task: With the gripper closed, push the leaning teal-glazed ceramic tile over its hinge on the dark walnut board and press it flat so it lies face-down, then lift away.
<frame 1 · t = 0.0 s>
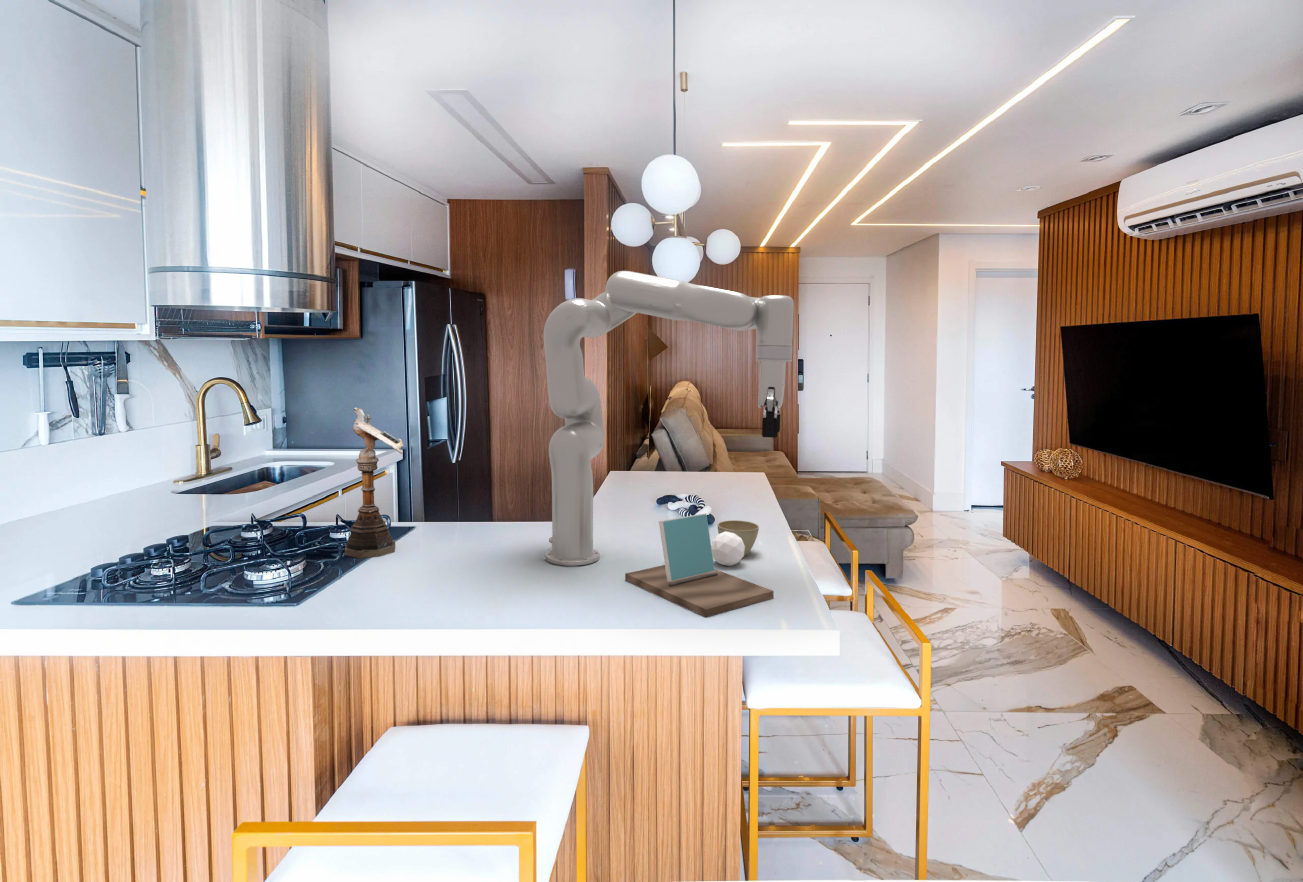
hand: (771, 434, 156), 31 cm above the countertop, tool pointing down, fingers open, 9 cm apart
board: (696, 588, 150), on the countertop
tile: (687, 546, 151), point 8 cm above the countertop, hinge at 75.0°
ball: (727, 565, 167), on the countertop
tan round bowl: (737, 554, 176), on the countertop
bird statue: (381, 549, 176), on the countertop
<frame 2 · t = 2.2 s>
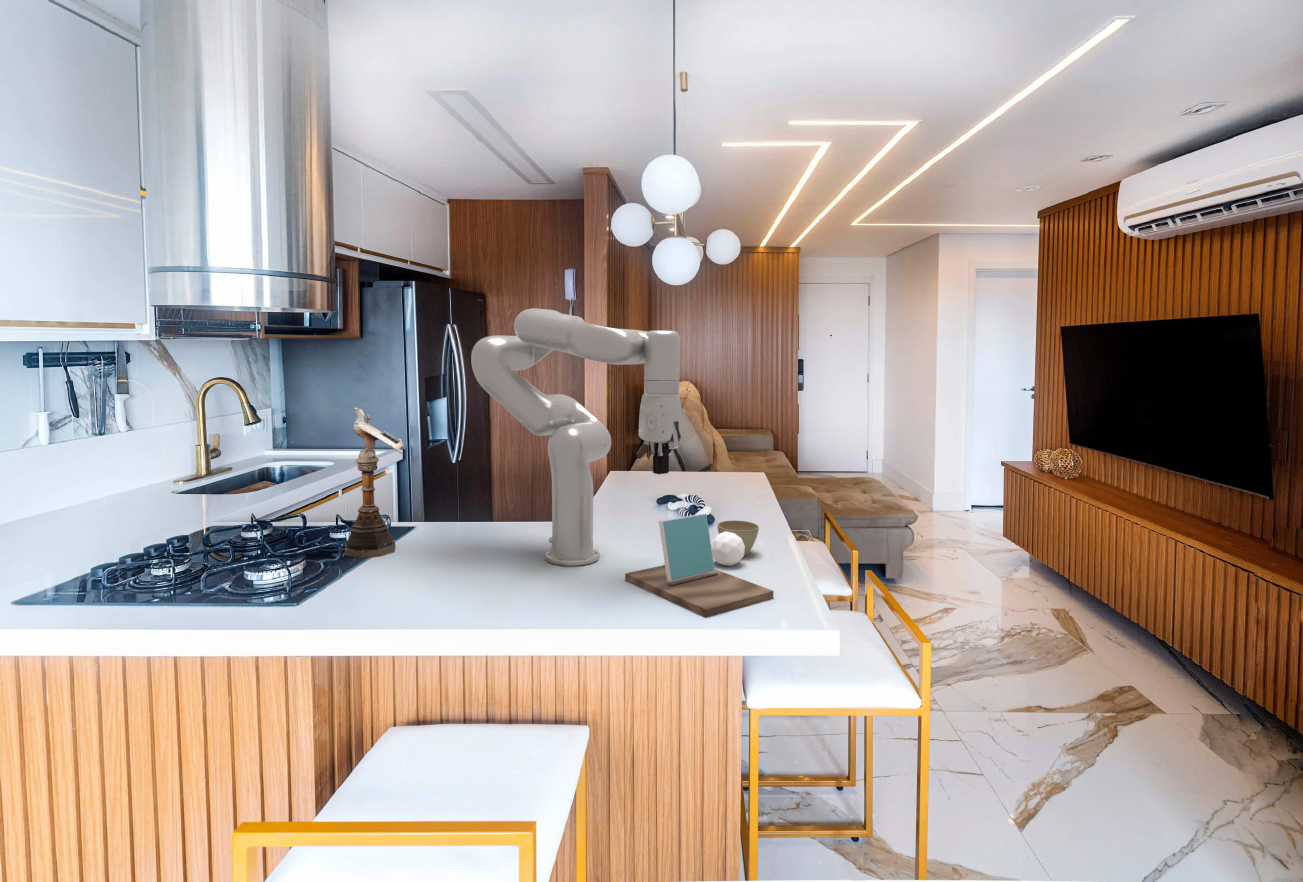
hand: (660, 473, 157), 22 cm above the countertop, tool pointing down, fingers closed
nothing on the countertop moved.
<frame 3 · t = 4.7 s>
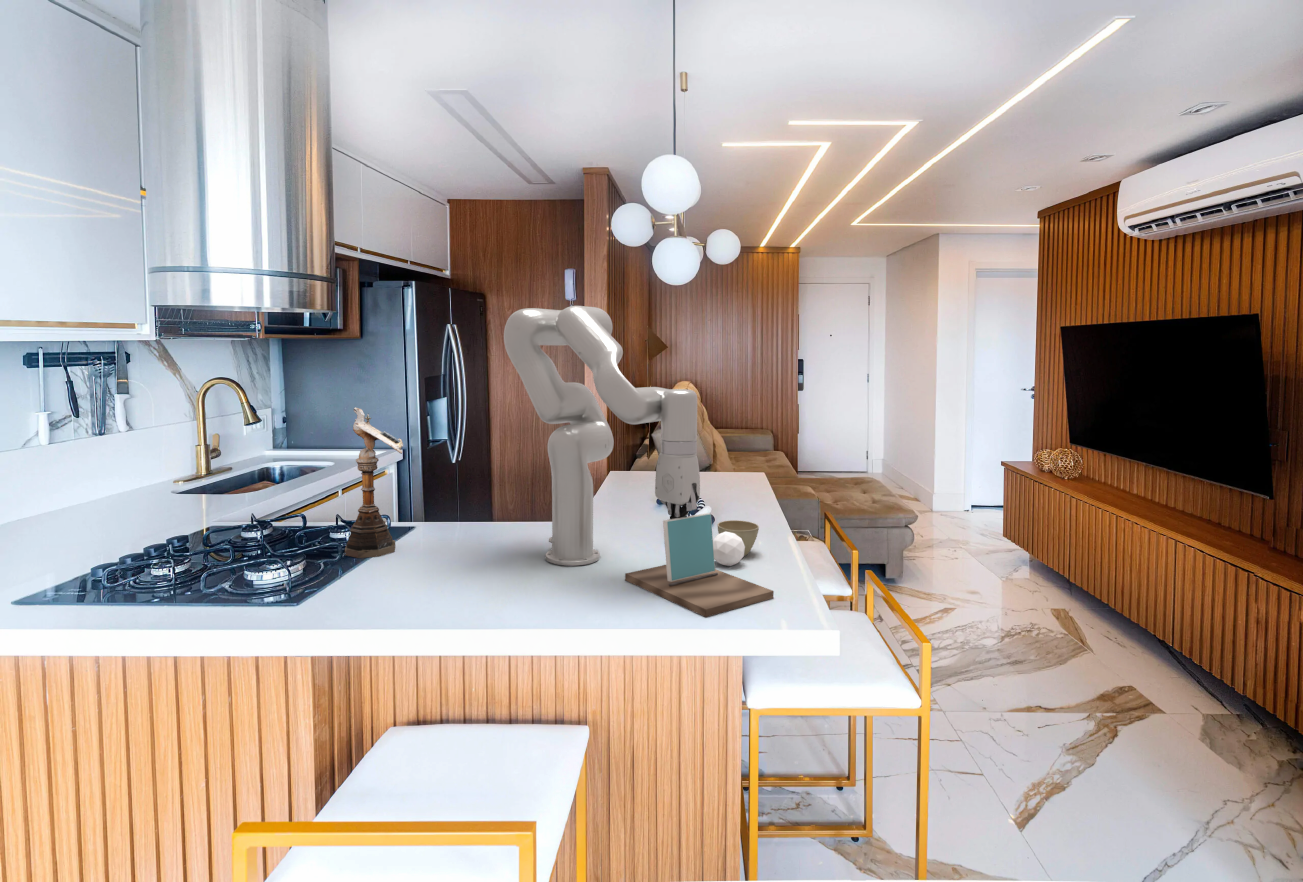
hand: (677, 533, 154), 10 cm above the countertop, tool pointing down, fingers closed
tile: (689, 546, 151), point 8 cm above the countertop, hinge at 81.5°, touching gripper
everything else where it was.
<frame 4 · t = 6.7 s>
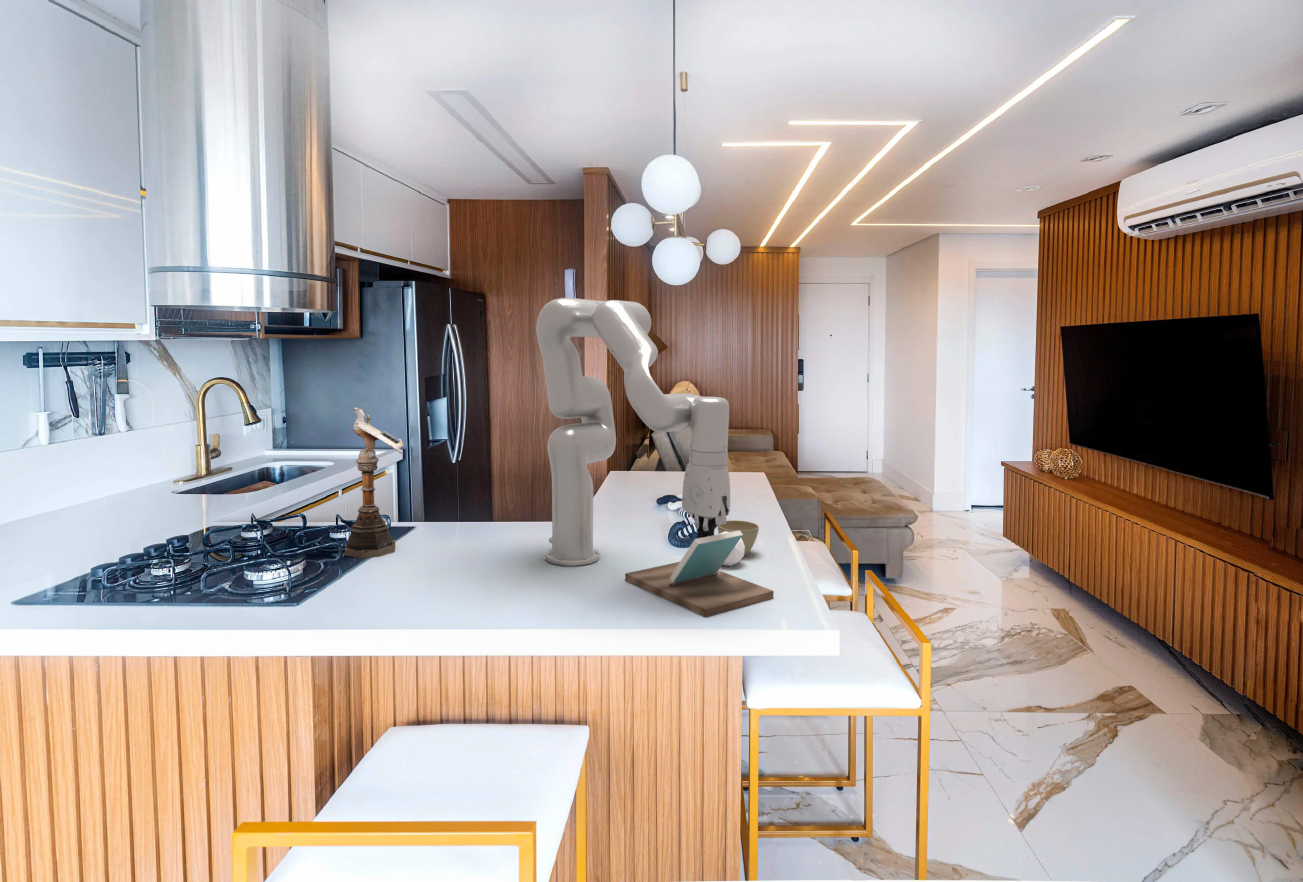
hand: (705, 547, 147), 9 cm above the countertop, tool pointing down, fingers closed
tile: (706, 556, 147), point 8 cm above the countertop, hinge at 127.4°, touching gripper
everything else where it was.
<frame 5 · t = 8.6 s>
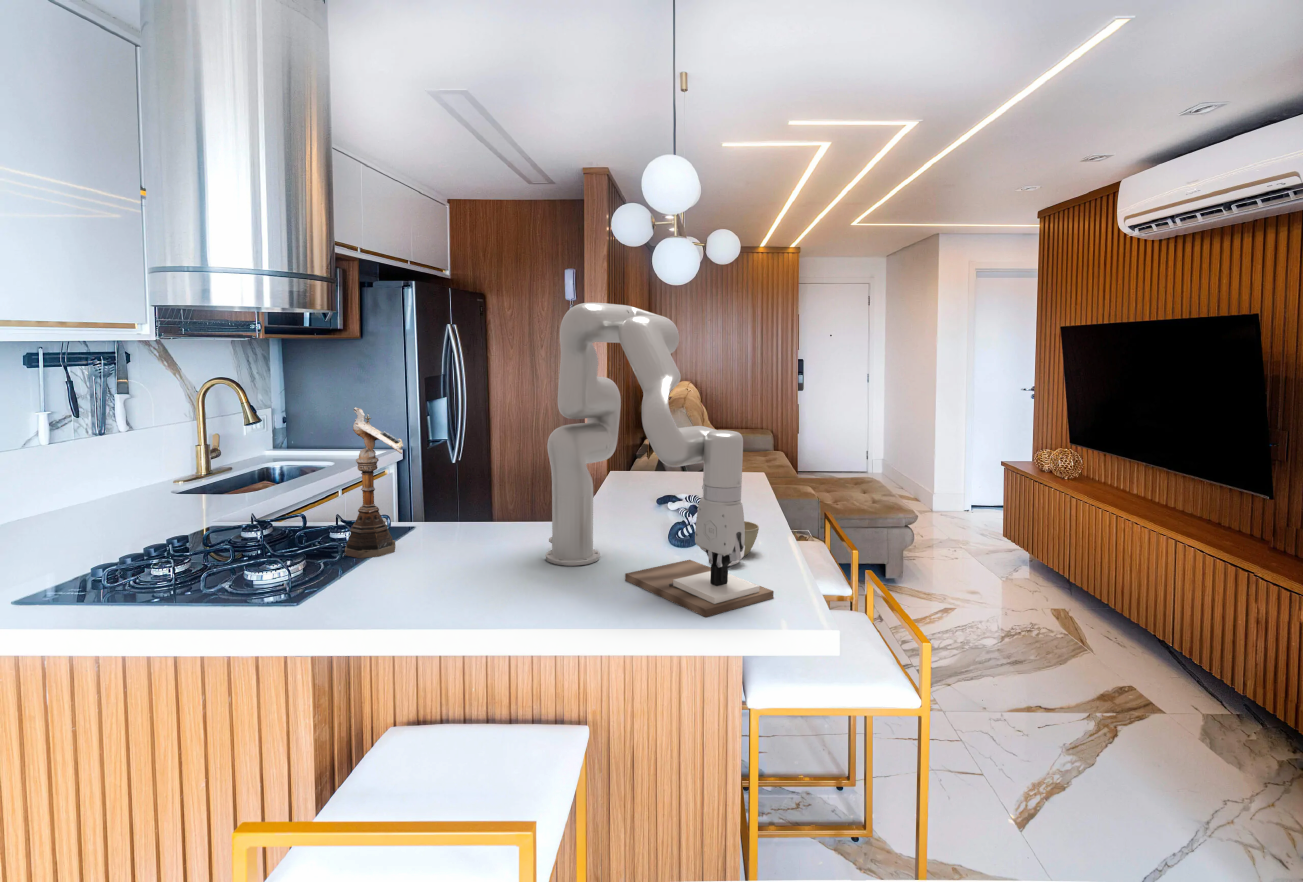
hand: (718, 583, 144), 3 cm above the countertop, tool pointing down, fingers closed
tile: (716, 586, 145), point 2 cm above the countertop, hinge at 180.7°, touching board, gripper
everything else where it was.
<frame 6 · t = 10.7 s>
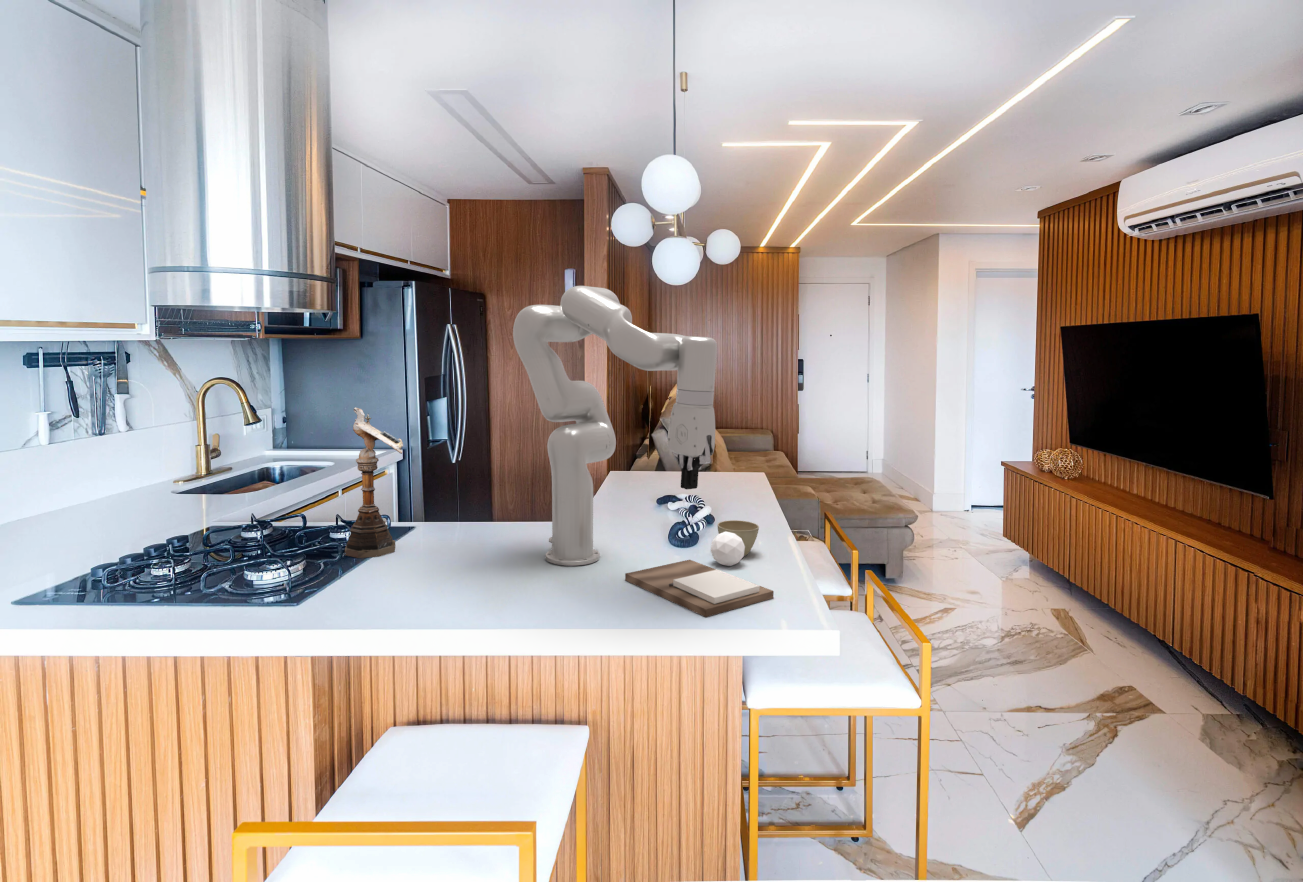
hand: (688, 487, 148), 21 cm above the countertop, tool pointing down, fingers closed
tile: (716, 586, 145), point 2 cm above the countertop, hinge at 180.7°, touching board
everything else where it was.
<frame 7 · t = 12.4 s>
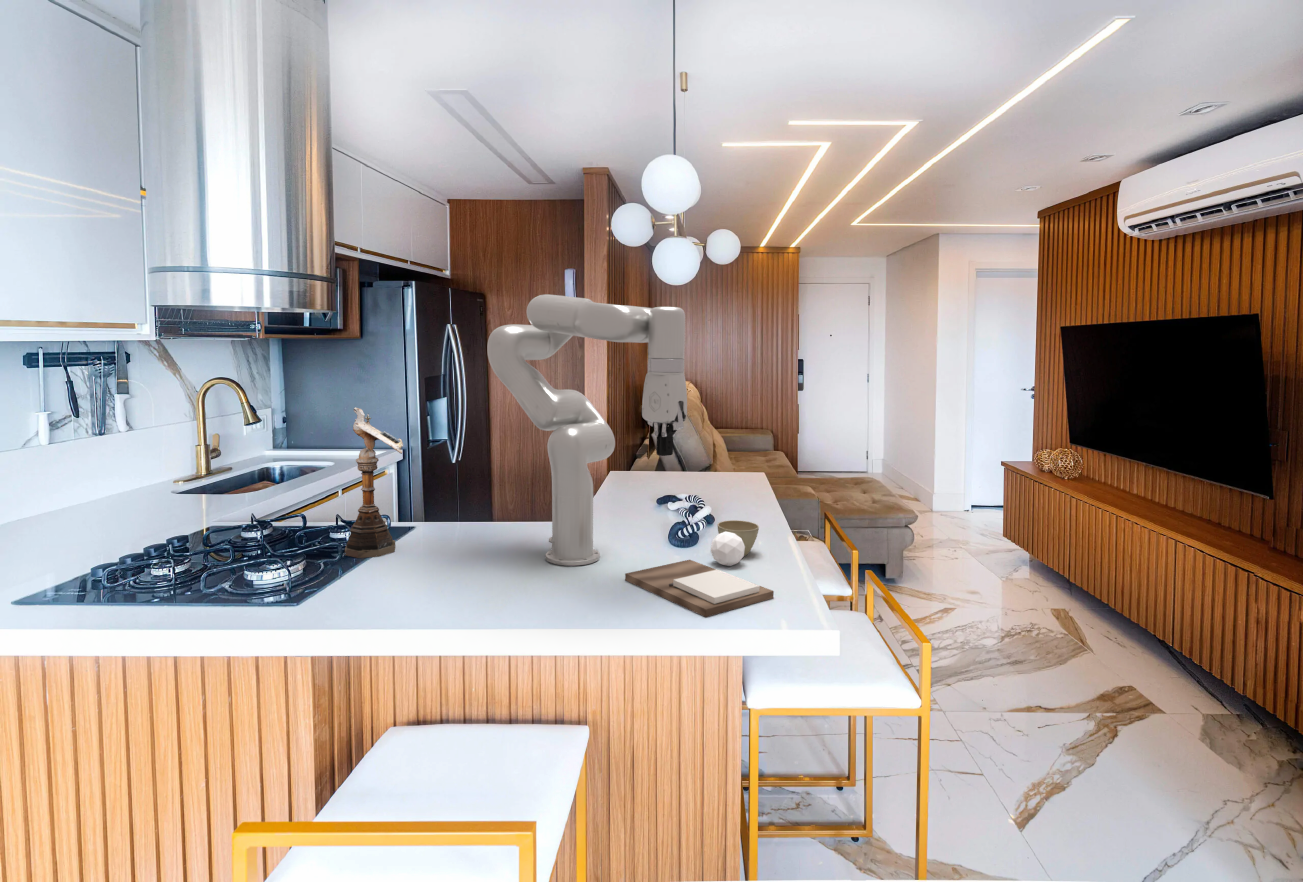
hand: (664, 454, 152), 27 cm above the countertop, tool pointing down, fingers closed
nothing on the countertop moved.
at the end: tile at +181° (first picture: +75°); ball moved 0.2 cm from its start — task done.
